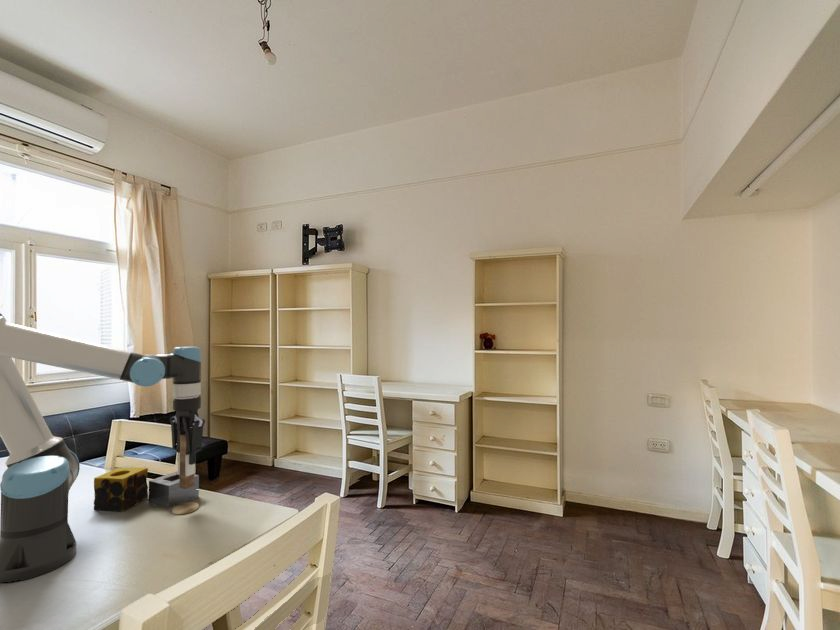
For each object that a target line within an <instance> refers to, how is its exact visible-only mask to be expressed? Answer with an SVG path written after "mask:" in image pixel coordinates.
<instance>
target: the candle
mask: <svg viewBox="0 0 840 630" xmlns="http://www.w3.org/2000/svg"><path fill="white" fill-rule="evenodd" d="M148 471H149V470H148V467H129V466H128V467H127V466H125V467H118V468H115V469H112V470H110V471H108V472H105V473H103V474H100V475H98V476H96V477H94V479H93V490H94V500H93V510H95V511H106V512H108V511H110V512H115V511H116V512H124V511H127V510H129V509H130V508H132V507H134V506H136V505H138V504H139V503H141V502H142V501H145V500H147V499H149V485H148V482H147V480H148V479H147V477H148Z"/></svg>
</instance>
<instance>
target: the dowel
mask: <svg viewBox="0 0 840 630" xmlns="http://www.w3.org/2000/svg"><path fill="white" fill-rule="evenodd" d="M185 453H187V440H186V433H185V434H181V435H180V488H183V489H187V488H190V487H193V486H194V474H192V475H189V476H185V456H186V454H185Z"/></svg>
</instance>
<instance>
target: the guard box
mask: <svg viewBox="0 0 840 630" xmlns="http://www.w3.org/2000/svg"><path fill="white" fill-rule="evenodd" d="M196 489H199V490H196ZM199 495H200V475H199V474H196V473H195V474H194V486H193V487H190V488H187V489H183V488H180V475H179V474H178V470H177V471H174V472H171V473H168V474H166V475H165V474H164V475H163V476H159V477H156V478H153V479H150V480H148V504H150V505H153V506H156V507H161V508H164V509H166V510H167V509H168V510H169V509H173V508H174V507H176V506H178V505H180V504H184V503H188V502H189V501H192V500H194V499H196V498H199Z"/></svg>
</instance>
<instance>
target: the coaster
mask: <svg viewBox="0 0 840 630" xmlns="http://www.w3.org/2000/svg"><path fill="white" fill-rule="evenodd" d="M198 509H199V503H198V502H185V503H182V504H180V505H177V506H175V507H172V508H171V512H172V514H173V515H177V516H179V515H186V514H190V513H193V512H195V511H197V510H198Z"/></svg>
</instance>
